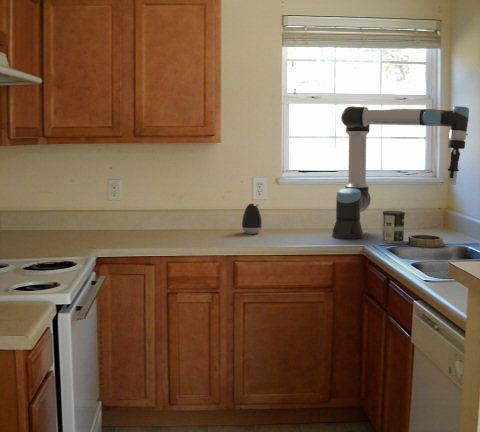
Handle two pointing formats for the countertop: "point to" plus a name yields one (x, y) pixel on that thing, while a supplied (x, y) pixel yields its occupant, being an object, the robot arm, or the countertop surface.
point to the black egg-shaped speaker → (252, 219)
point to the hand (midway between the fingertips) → (451, 185)
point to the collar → (425, 241)
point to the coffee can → (393, 226)
